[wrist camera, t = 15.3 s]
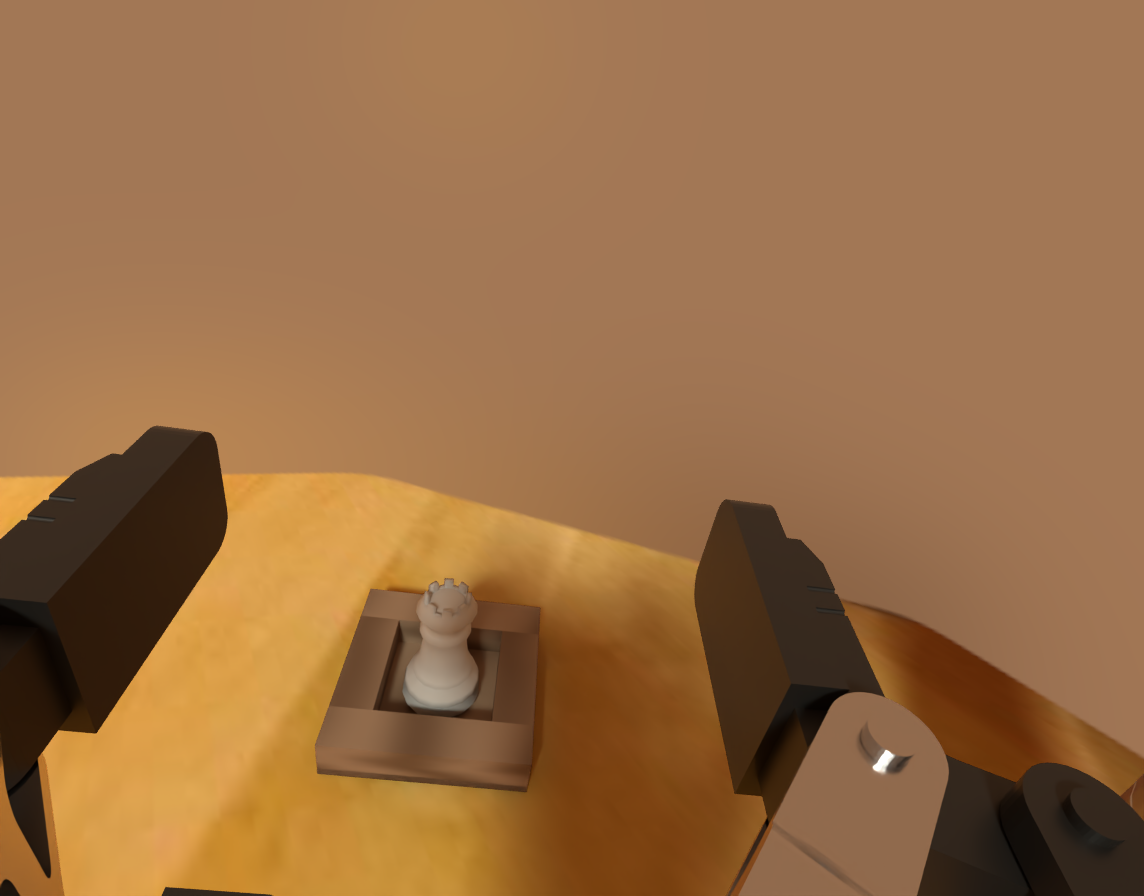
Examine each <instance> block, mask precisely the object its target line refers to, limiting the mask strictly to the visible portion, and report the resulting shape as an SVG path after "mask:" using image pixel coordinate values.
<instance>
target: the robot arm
mask: <svg viewBox="0 0 1144 896" xmlns="http://www.w3.org/2000/svg"><path fill="white" fill-rule="evenodd" d="M227 519H228V515H227V506H226V499H225V493H224V487H223V480H222V474H221V468H220V461H219V455H218V449H217V444H216V441H215V438H214V437H213V435H212V434H211V433H209V432H202V431H194V430H186V429H179V428H171V427H163V426H154V427H152V428H150V429H149V430H147V431H146V432H145V433H144V434H143V435H142V436H141V437H140V438H139V439H138V440H137V441H136V442H135V443H134V444H133V445H132V446H131V447H130V448H129V449H128V450H126V451H125V452H124V453H123V454H122V455H119V454H110V455H108V456H106V457H104V458H102V459H100V460H98V461H96V462H94V463H92V464H90V465H88V466H86V467H84V468H82V469H80V470H78V471H76V472H74V473H73V474H72V475H71V476H70V477H69V478H68V479H67V480H65V481H64V482H63V483H62V484H61V485H60V486H59V487H58V488H57V489H55V490H54V491H53V492H52V493H51V494H50V495H49V500H43V501H42V502H41V503H40V504H39V505H38V506H37V507H36V508H34V509H33V510H32V511H31V512H30V513H29V514H28V518H27V520H21V521H20V522H19V523H18V524H17V525H16V526H15V527H13V528H12V529H11V530H10V531H9V532H8V533H7V534H6V535H5V536H3V537H2V538H1V539H0V896H64V891H63V884H62V877H61V870H60V862H59V854H58V847H57V839H56V832H55V824H54V817H53V809H52V802H51V794H50V787H49V779H48V772H47V765H46V761H45V758H44V756H43V754H42V752H43V751H44V749H45V748H46V746H47V745H48V744H49V742H50V741H51V739H52V738H53V737H54V735H55V734H56V733H57V731H58V730H62V731H73V732H85V733H97V732H98V730H99V729H100V727H101V726H102V724H103V723H104V721H105V720H106V718H107V717H108V715H109V714H110V712H111V711H112V709H113V708H114V706H115V705H116V703H117V702H118V700H119V699H120V697H121V696H122V694H123V693H124V691H125V690H126V688H127V687H128V685H129V684H130V682H131V681H132V679H133V678H134V676H135V675H136V673H137V672H138V670H139V669H140V667H141V666H142V664H143V663H144V661H145V660H146V658H147V657H148V655H149V654H150V652H151V651H152V650H153V648H154V647H155V645H156V644H157V642H158V641H159V639H160V638H161V636H162V635H163V633H164V632H165V630H166V629H167V627H168V626H169V624H170V623H171V621H172V620H173V618H174V617H175V615H176V614H177V612H178V611H179V609H180V608H181V606H182V605H183V603H184V602H185V600H186V599H187V597H188V596H189V594H190V593H191V591H192V590H193V588H194V587H195V585H196V584H197V582H198V581H199V579H200V578H201V576H202V575H203V573H204V572H205V570H206V569H207V567H208V566H209V564H210V563H211V561H212V560H213V558H214V557H215V555H216V554H217V552H218V551H219V549H220V547H221V545H222V542H223V540H224V536H225V533H226V528H227ZM834 590H835V588H834V586H833V584H832V582H831V580H830V577H829V575H828V573H827V571H826V569H825V567H824V564H823V563H822V562H821V561H820V560H819V559H818V558H817V557H816V556H815V555H814V554H813V553H812V551H811V550H810V549H809V548H808V547H807V546H806V545H805V544H804V543H803V542H802V541H801V540H798V539H789V538H787V537H786V535H785V533H784V530H783V528H782V525H781V523H780V521H779V518H778V516H777V513H776V511H775V509H774V508H773V507H772V506H771V505H766V504H757V503H749V502H742V501H734V500H724V501H723V502H722V503H721V505H720V507H719V509H718V512H717V515H716V517H715V520H714V523H713V526H712V529H711V532H710V535H709V538H708V541H707V543H706V546H705V549H704V552H703V555H702V558H701V561H700V564H699V567H698V570H697V574H696V580H695V594H694V595H695V607H696V612H697V617H698V621H699V626H700V631H701V636H702V641H703V645H704V650H705V655H706V660H707V664H708V669H709V674H710V679H711V683H712V688H713V693H714V698H715V702H716V707H717V712H718V717H719V721H720V726H721V731H722V736H723V740H724V745H725V750H726V755H727V759H728V764H729V769H730V774H731V778H732V783H733V788H734V793H735V794H744V795H755V796H762V797H763V801H764V805H765V809H766V813H767V818H766V819H765V821H764V823H763V824H762V826H761V828H760V830H759V832H758V834H757V836H756V838H755V840H754V842H753V844H752V845H751V847H750V849H749V851H748V853H747V855H746V857H745V859H744V861H743V863H742V865H741V867H740V869H739V871H738V873H737V874H736V876H735V878H734V880H733V882H732V884H731V886H730V888H729V890H728V892H727V894H726V896H1144V774H1143V775H1142V776H1141V777H1140V778H1139V779H1138V780H1137V781H1136V782H1135V783H1134V784H1133V785H1132V786H1131V787H1130V788H1129V789H1127V790H1126V791H1125V792H1124V793H1123V794H1122V795H1121V796H1119V795H1117V794H1116V793H1115V792H1114V791H1113V790H1111V789H1110V788H1108V787H1107V786H1106V785H1104V784H1103V783H1101V782H1100V781H1098V780H1096V779H1095V778H1093V777H1091V776H1090V775H1088V774H1086V773H1083V772H1081V771H1079V770H1077V769H1074V768H1072V767H1069V766H1066V765H1061V764H1057V763H1041V764H1037V765H1035V766H1032V767H1031V768H1030V769H1029V770H1027V772H1026V773H1025V774H1024V775H1023V776H1022V777H1021V778H1020V779H1019V780H1018V781H1017V783H1016V782H1013V781H1010V780H1008V779H1005V778H1003V777H1000V776H997V775H995V774H992V773H990V772H987V771H984V770H982V769H979V768H977V767H974V766H972V765H969V764H966V763H964V762H961V761H959V760H956V759H954V758H952V757H949V756H947V755H945V753H944V751H943V749H942V747H941V745H940V743H939V741H938V740H937V738H936V737H935V735H934V734H933V733H932V732H931V730H930V729H929V728H928V727H927V726H926V725H925V724H924V723H923V722H922V721H921V720H920V719H919V718H918V717H917V716H915V715H914V714H913V713H912V712H910V711H909V710H907V709H906V708H904V707H903V706H901V705H900V704H898V703H896V702H894V701H892V700H890V699H887V698H885V696H884V694H883V692H882V690H881V688H880V685H879V683H878V681H877V679H876V677H875V675H874V672H873V670H872V668H871V666H870V664H869V662H868V660H867V657H866V655H865V653H864V651H863V649H862V647H861V644H860V642H859V640H858V638H857V636H856V634H855V631H854V629H853V627H852V625H851V623H850V621H849V618H848V616H845V615H844V611H845V610H844V608H843V606H842V603H841V601H840V599H839V597H838V595H837V594H835V593H834ZM162 896H272V895H267V894H253V893H239V892H225V891H211V890H198V889H184V888H170V887H165V889H164V892H163V894H162Z"/></svg>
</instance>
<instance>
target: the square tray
mask: <svg viewBox="0 0 1144 896" xmlns="http://www.w3.org/2000/svg"><path fill="white" fill-rule="evenodd" d="M422 595H423V594H414V593H405V592H396V591H387V590H378V589H371V590H370V592H369V595H368V598H367V601H366V604H365V606H364V609H363V612H362V615H361V618H360V620H359V623H358V626H357V629H356V632H355V635H354V637H353V640H352V643H351V646H350V649H349V651H348V654H347V657H346V660H345V663H344V665H343V668H342V671H341V674H340V677H339V679H338V682H337V685H336V688H335V691H334V693H333V696H332V699H331V702H330V705H329V708H328V710H327V713H326V716H325V719H324V722H323V724H322V727H321V730H320V733H319V736H318V738H317V741H316V744H315V751H316V762H317V773H318V774H327V775H338V776H350V777H361V778H372V779H384V780H395V781H407V782H418V783H430V784H441V785H452V786H464V787H475V788H487V789H498V790H510V791H521V792H526V790H527V785H528V781H529V776H530V771H531V766H532V751H533V733H534V715H535V697H536V678H537V660H538V642H539V624H540V607H531V606H522V605H513V604H504V603H495V602H486V601H477V600H475V601H476V603H477V615H476V616H475V618H474V620H473V622H471V633H470V635H469V636H468V638H467V648H468V651H469V653H470V655H471V656H472V657H473V659H474V661H475V663H476V665H477V667H478V670H479V693H478V695H477V697H476V699H475V701H474V703H473V704H472V705H471V706H470V707H469V708H468V709H466V710H465V711H464V712H463V713H462V714H459V715H456V716H453V717H451V718H450V717H440V716H430V715H420V714H417V713H416V712H415V711H414V710H413V709H412V708H411V707H410V706H409V705H408V704H407V703H406V700H405V697H404V695H403V684H404V678H405V670H406V668H407V666H408V664H409V663H410V661H411V659H412V658H413V656H414V655H415V654H417V652H418V650H419V649H420V648H421V644H422V640H423V637H422V635H421V633H420V623H421V621H420V619H419V617H418V615H417V613H416V609H417V602H418V601H419V599H420V598H421V596H422Z"/></svg>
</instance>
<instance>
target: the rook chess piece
mask: <svg viewBox="0 0 1144 896" xmlns="http://www.w3.org/2000/svg"><path fill="white" fill-rule="evenodd" d="M453 583H454V579H448V578H445V581H444V585H440V586H439V584H438V582H437V581H435V582H433V583H431V584H430V585H429V591H428V592H427V591H425V594H423V595H422V596H421V598H420V599H419V601H418V602H417V609H416V613H417V615H418V617H419V619H420V621H421V623H420V633H421V635H422V637H423V640H422V644H421V648H420V649H419V650H418V652H417V654H415V655H414V656H413V658H412V659H411V661H410V663H409V664H408V666H407V668H406V670H405V678H404V684H403V695H404V697H405V700H406V703H407V704H408V705H409V706H410V707H411V708H412V709H413V710H414V711H415V712H416V713H417V714H420V715H430V716H440V717H450V718H451V717H453V716H456V715H459V714H462V713H463V712H464V711H465V710H466V709H468V708H469V707H470V706H471V705H472V704H473V703H474V701H475V699H476V697H477V695H478V693H479V670H478V667H477V665H476V663H475V661H474V659H473V657H472V656H471V655H470V653H469V651H468V648H467V638H468V636H469V635H470V633H471V622H473V620H474V618H475V616H476V615H477V603H476V601H475V599H474V597H473V596H472V593H468V586H467V585H466V584H465V583H464V582H461V583H460V584H459V586H456V585H453Z"/></svg>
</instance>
